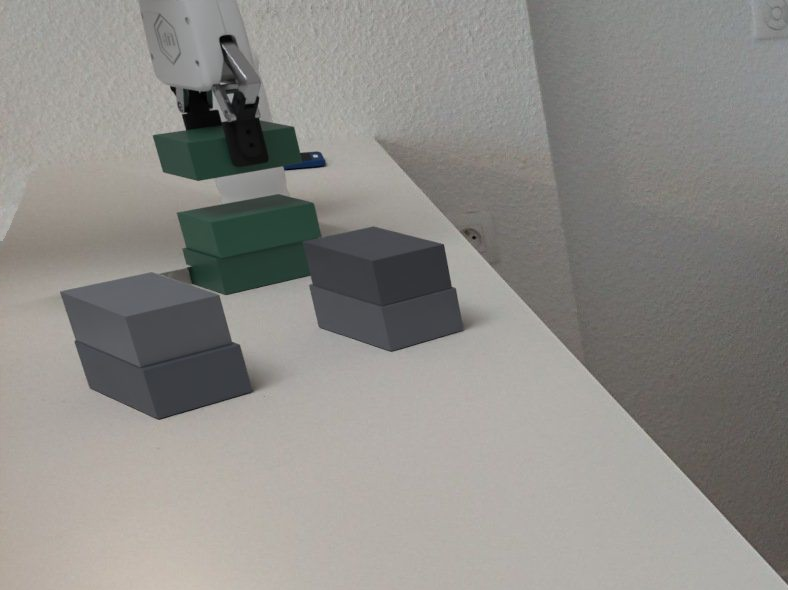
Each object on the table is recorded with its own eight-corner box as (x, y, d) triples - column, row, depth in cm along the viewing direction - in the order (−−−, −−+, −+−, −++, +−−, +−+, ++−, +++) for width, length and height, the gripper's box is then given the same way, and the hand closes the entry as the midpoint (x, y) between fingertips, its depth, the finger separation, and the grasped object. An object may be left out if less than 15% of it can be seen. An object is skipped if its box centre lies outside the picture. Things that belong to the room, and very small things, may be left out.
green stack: (226, 295, 120) (207, 222, 117) (191, 283, 124) (171, 212, 121) (329, 271, 128) (314, 202, 124) (293, 260, 131) (277, 193, 128)
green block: (197, 181, 116) (186, 142, 114) (162, 172, 119) (151, 134, 117) (303, 163, 123) (294, 126, 121) (267, 155, 126) (258, 119, 125)
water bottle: (219, 235, 140) (153, -13, 129) (237, 220, 146) (176, -18, 135) (288, 232, 141) (229, -14, 130) (303, 217, 148) (248, -18, 136)
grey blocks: (158, 419, 93) (126, 318, 89) (89, 387, 98) (57, 291, 95) (464, 330, 111) (448, 243, 107) (390, 307, 117) (373, 224, 113)
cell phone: (326, 165, 173) (325, 159, 173) (210, 175, 168) (209, 169, 167) (322, 156, 179) (320, 150, 179) (210, 165, 173) (208, 159, 173)
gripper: (86, -50, 114) (146, 156, 122) (181, -44, 105) (239, 178, 113) (172, -54, 119) (224, 143, 128) (270, -48, 110) (319, 164, 119)
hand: (230, 158), depth 120 cm, fingers closed on green block, 6 cm apart
